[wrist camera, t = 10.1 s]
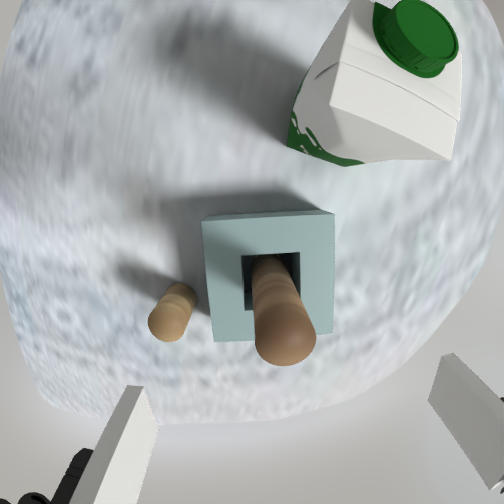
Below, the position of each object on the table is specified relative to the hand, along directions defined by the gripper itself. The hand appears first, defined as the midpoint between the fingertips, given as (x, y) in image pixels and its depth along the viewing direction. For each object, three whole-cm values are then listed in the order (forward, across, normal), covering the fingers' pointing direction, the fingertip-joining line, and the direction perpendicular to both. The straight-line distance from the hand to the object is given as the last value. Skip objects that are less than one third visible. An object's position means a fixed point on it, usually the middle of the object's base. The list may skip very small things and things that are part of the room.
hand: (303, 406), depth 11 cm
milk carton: (+22, +7, +15) cm, 28 cm away
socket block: (+22, 0, 0) cm, 22 cm away
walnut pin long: (+22, 0, 0) cm, 22 cm away
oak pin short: (+22, -10, -3) cm, 24 cm away
